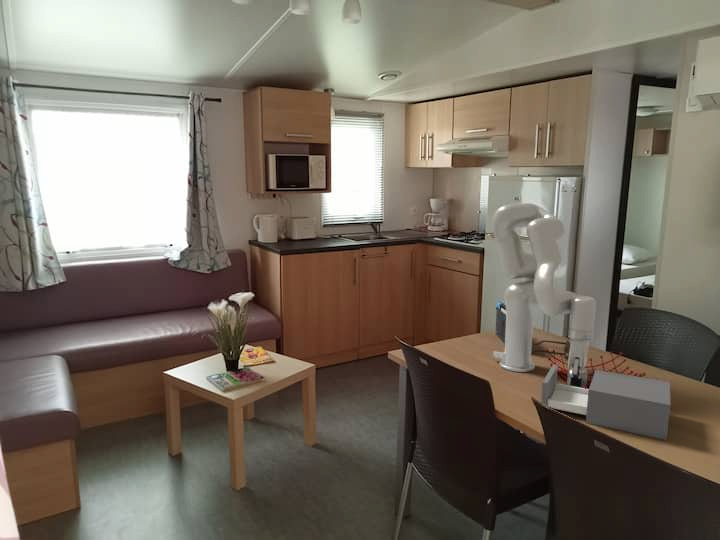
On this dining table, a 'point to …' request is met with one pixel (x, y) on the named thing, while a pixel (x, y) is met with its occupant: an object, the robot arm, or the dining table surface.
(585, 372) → the tin
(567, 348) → the eyeglasses
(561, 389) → the tray
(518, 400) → the dining table surface
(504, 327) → the game console
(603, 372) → the block
